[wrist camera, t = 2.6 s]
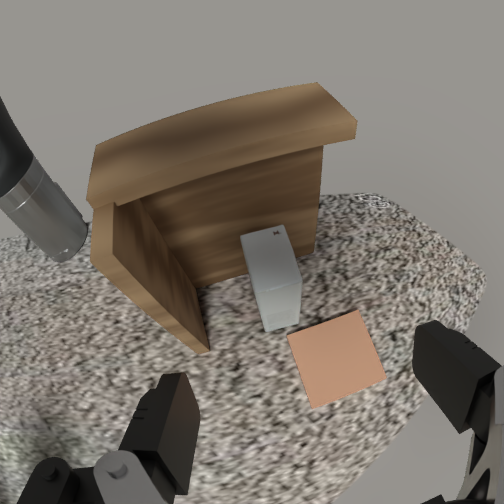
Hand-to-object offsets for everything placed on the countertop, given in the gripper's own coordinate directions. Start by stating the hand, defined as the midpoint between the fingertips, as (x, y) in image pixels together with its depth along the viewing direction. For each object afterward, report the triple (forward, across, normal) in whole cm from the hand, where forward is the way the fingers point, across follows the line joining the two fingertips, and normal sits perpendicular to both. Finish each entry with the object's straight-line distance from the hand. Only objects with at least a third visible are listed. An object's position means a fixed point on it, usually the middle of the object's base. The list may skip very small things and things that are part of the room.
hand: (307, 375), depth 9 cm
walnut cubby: (+26, +1, +7) cm, 27 cm away
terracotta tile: (+20, -6, +14) cm, 25 cm away
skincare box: (+25, 0, +8) cm, 26 cm away
